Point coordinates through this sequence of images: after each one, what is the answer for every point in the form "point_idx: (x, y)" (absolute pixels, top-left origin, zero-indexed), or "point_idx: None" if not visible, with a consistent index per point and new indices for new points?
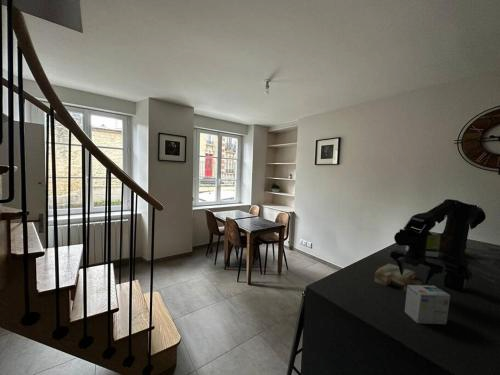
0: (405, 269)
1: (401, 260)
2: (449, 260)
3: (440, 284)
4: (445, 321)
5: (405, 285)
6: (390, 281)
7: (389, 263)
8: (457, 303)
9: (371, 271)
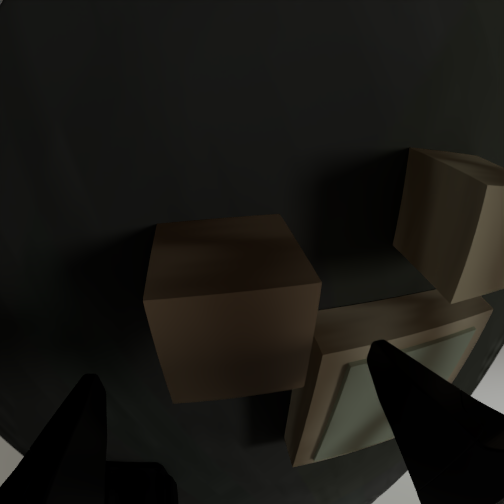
0: (342, 451)
1: (500, 497)
2: None
3: (178, 464)
4: None
5: (284, 244)
6: (402, 251)
7: None
8: (14, 366)
9: None
